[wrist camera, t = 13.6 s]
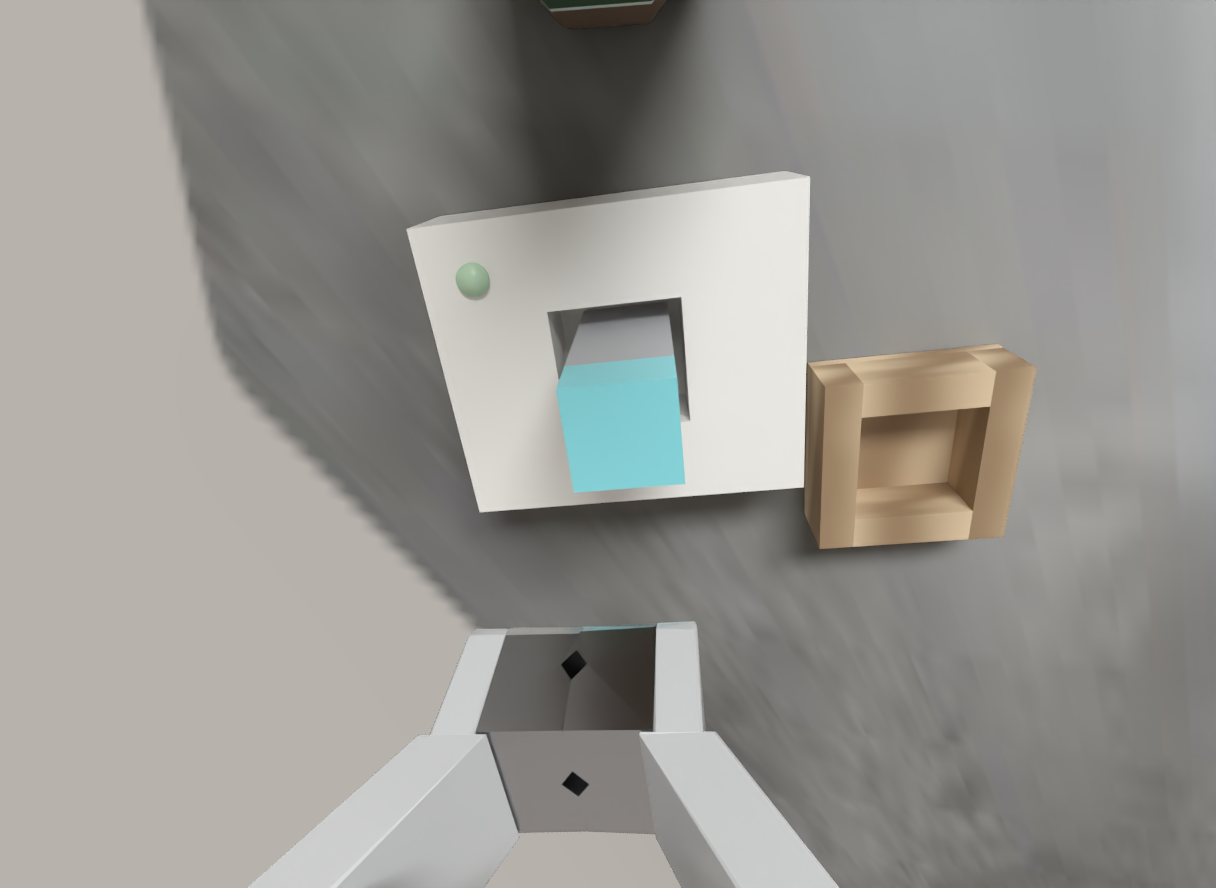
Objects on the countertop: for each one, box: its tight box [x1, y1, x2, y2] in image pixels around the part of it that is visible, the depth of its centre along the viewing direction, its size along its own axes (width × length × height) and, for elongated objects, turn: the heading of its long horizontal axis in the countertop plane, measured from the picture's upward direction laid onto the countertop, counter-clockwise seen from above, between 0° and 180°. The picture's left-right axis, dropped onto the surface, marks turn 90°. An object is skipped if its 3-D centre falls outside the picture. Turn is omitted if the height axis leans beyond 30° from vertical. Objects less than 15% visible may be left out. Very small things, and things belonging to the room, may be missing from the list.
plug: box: [556, 302, 685, 493], centre depth 22 cm, size 4×4×9 cm
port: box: [407, 171, 810, 512], centre depth 25 cm, size 14×12×4 cm
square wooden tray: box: [804, 344, 1037, 549], centre depth 27 cm, size 8×8×3 cm
